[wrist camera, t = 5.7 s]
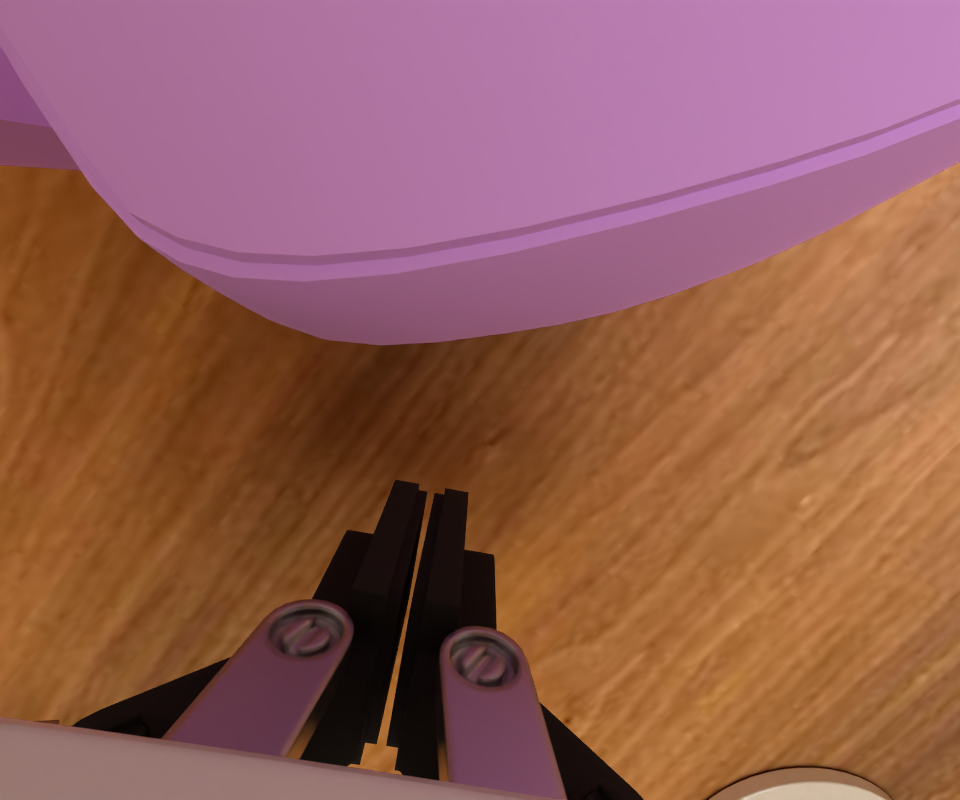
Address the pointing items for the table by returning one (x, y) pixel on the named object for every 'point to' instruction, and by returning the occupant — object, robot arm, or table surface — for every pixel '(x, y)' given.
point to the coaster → (802, 786)
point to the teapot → (478, 143)
